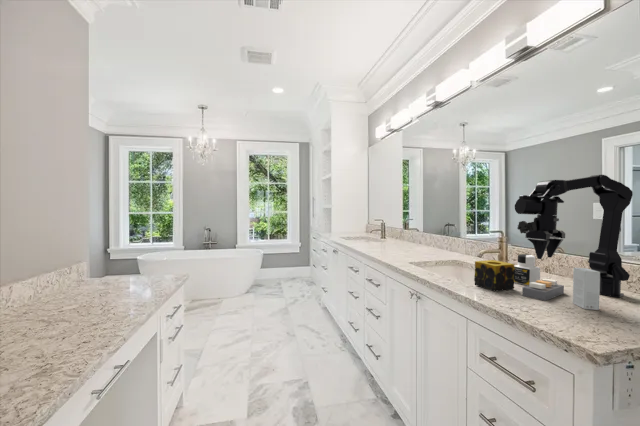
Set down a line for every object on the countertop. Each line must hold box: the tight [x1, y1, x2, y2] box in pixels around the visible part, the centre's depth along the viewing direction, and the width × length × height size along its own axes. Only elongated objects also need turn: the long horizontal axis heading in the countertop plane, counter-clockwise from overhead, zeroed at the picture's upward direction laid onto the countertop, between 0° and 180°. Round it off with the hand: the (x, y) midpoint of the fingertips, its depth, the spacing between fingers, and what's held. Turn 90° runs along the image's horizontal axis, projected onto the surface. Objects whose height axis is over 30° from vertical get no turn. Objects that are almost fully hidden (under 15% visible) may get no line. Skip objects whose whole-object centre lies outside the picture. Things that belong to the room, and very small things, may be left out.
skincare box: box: [572, 267, 601, 311], centre depth 96 cm, size 6×4×12 cm
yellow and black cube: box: [473, 259, 515, 292], centre depth 119 cm, size 10×10×10 cm
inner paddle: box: [541, 278, 558, 285], centre depth 111 cm, size 3×4×1 cm, turn 33°
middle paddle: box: [536, 279, 552, 287], centre depth 109 cm, size 3×4×1 cm, turn 33°
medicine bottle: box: [514, 253, 541, 286], centre depth 125 cm, size 7×7×12 cm
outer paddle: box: [529, 282, 546, 289], centre depth 106 cm, size 3×4×1 cm, turn 33°
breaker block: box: [521, 283, 565, 302], centre depth 109 cm, size 16×7×3 cm, turn 123°
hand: (544, 258), depth 108 cm, fingers open, 9 cm apart
